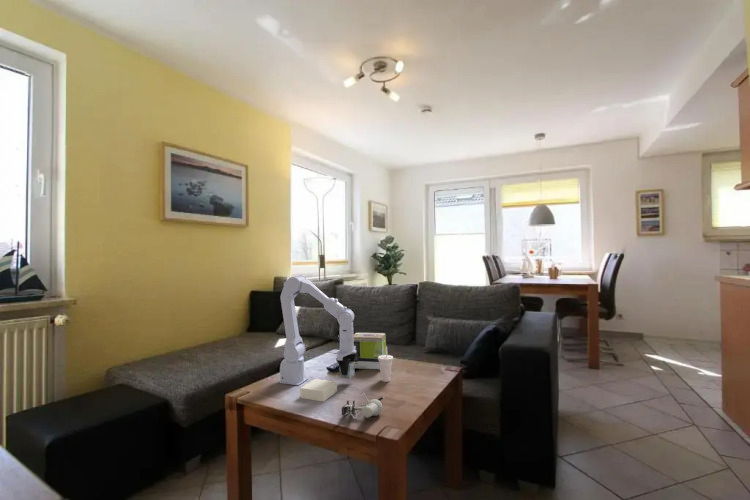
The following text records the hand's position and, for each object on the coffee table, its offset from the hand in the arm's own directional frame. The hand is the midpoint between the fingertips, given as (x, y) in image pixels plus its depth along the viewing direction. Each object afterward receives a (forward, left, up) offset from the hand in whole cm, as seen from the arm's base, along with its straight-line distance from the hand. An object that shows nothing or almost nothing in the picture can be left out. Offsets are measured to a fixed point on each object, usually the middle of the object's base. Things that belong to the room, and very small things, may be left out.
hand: (347, 372), depth 143 cm
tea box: (+1, +23, -5) cm, 24 cm away
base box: (-6, -13, -5) cm, 15 cm away
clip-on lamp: (+16, -22, -5) cm, 28 cm away
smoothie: (+14, +8, -5) cm, 17 cm away
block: (0, 0, -2) cm, 2 cm away
